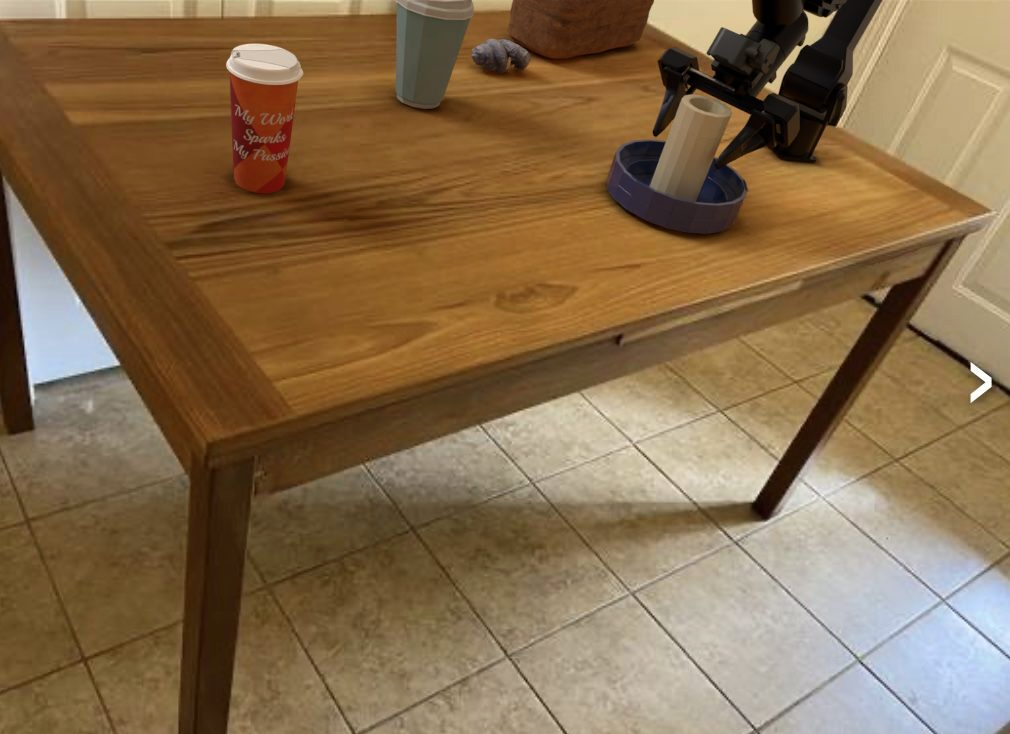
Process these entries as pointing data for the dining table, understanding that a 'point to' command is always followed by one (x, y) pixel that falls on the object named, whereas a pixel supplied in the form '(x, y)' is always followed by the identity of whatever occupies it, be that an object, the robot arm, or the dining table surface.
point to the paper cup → (262, 114)
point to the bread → (577, 25)
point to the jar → (691, 146)
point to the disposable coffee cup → (428, 48)
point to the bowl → (702, 216)
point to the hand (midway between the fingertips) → (684, 150)
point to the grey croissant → (500, 55)
